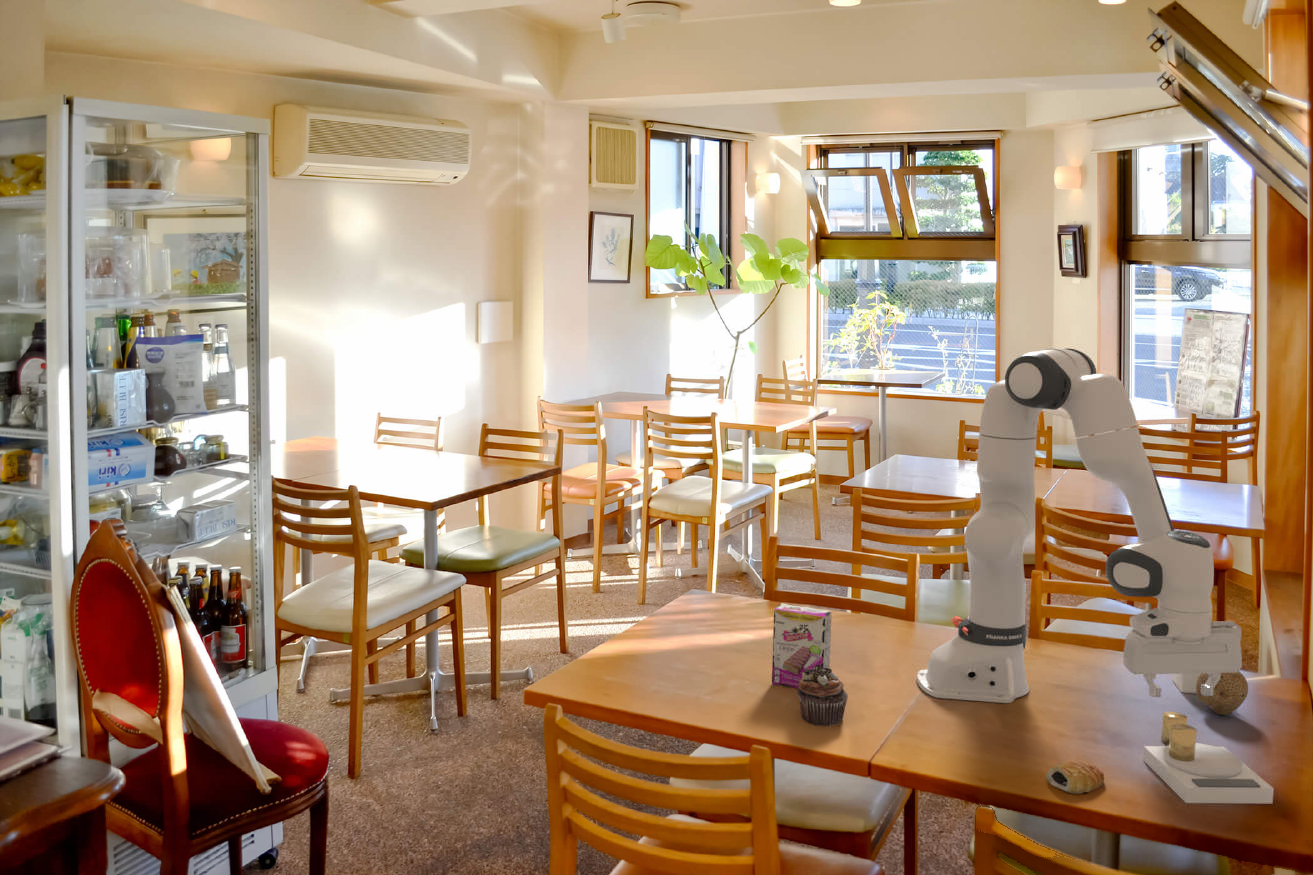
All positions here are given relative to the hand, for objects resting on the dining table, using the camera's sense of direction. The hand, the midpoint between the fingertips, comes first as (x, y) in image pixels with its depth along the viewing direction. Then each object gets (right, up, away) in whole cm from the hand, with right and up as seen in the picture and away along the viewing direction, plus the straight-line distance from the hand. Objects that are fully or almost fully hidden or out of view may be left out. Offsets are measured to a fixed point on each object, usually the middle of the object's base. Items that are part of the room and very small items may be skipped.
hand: (1180, 695), depth 201 cm
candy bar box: (-66, -5, +29) cm, 72 cm away
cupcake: (-64, -7, +12) cm, 65 cm away
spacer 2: (-6, -7, -13) cm, 16 cm away
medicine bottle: (+16, -5, +28) cm, 33 cm away
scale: (-3, -11, -14) cm, 18 cm away
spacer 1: (-1, -9, +2) cm, 9 cm away
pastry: (-25, -12, -15) cm, 32 cm away
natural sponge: (+14, -7, +15) cm, 22 cm away
